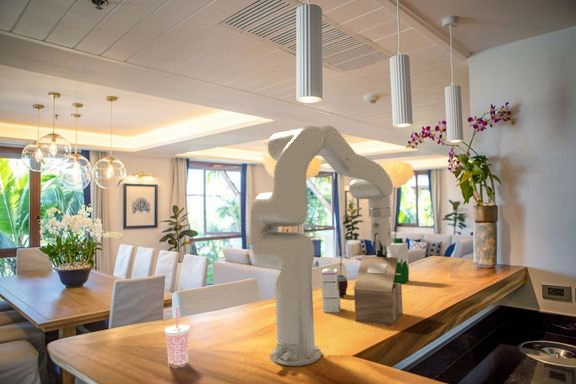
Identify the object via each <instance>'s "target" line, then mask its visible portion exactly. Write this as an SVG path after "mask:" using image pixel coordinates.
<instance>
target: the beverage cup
mask: <svg viewBox="0 0 576 384" xmlns="http://www.w3.org/2000/svg"><path fill="white" fill-rule="evenodd" d="M175 323H176V324H174V325H171V326H168V327H166V328H165V329H164V335H165V337H166V338H165V339H166V350H167V358H168V359H167V360H168V361H167V362H168V364H169V363H170V364H174V365H181V364H184V363H186V362H187V361H188V362H189V342H190V341H189V340H190V339H189V338H190V337H189V334H190V333H189V332H191V331H190V330H191V327H190V325H189V324H179V310H178V307H175Z"/></svg>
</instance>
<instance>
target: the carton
mask: <svg viewBox="0 0 576 384" xmlns="http://www.w3.org/2000/svg"><path fill="white" fill-rule="evenodd" d="M353 291H354V292H353V293H354V294H353V295H354V312H355V322H358V323H366V324H374V323H375V325H382V324H386V325H385V326H390V325H393V326H394V325H395V324H396V323H397V321H398V320H399V319H400V318H401V316H402V315H403V314H404V312H403V311H404V310H403V293H402V292H403V291H402V283H393V287H392V293H382V292H369V291H356V290H354V289H353ZM398 318H399V319H398ZM395 322H396V323H395ZM394 323H395V324H394Z"/></svg>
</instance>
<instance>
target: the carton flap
mask: <svg viewBox="0 0 576 384" xmlns="http://www.w3.org/2000/svg"><path fill="white" fill-rule="evenodd" d="M360 260H361V261H360V265H359V269H358V272H357V277H356V280H355V284H354V287H353V291H354V290H356V291H369V292H382V293H392V287H393V282H394V277H395V271H396V266H397V260H398V258H395V257H388V256H387V257H377V256H362V258H361V259H360Z"/></svg>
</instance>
